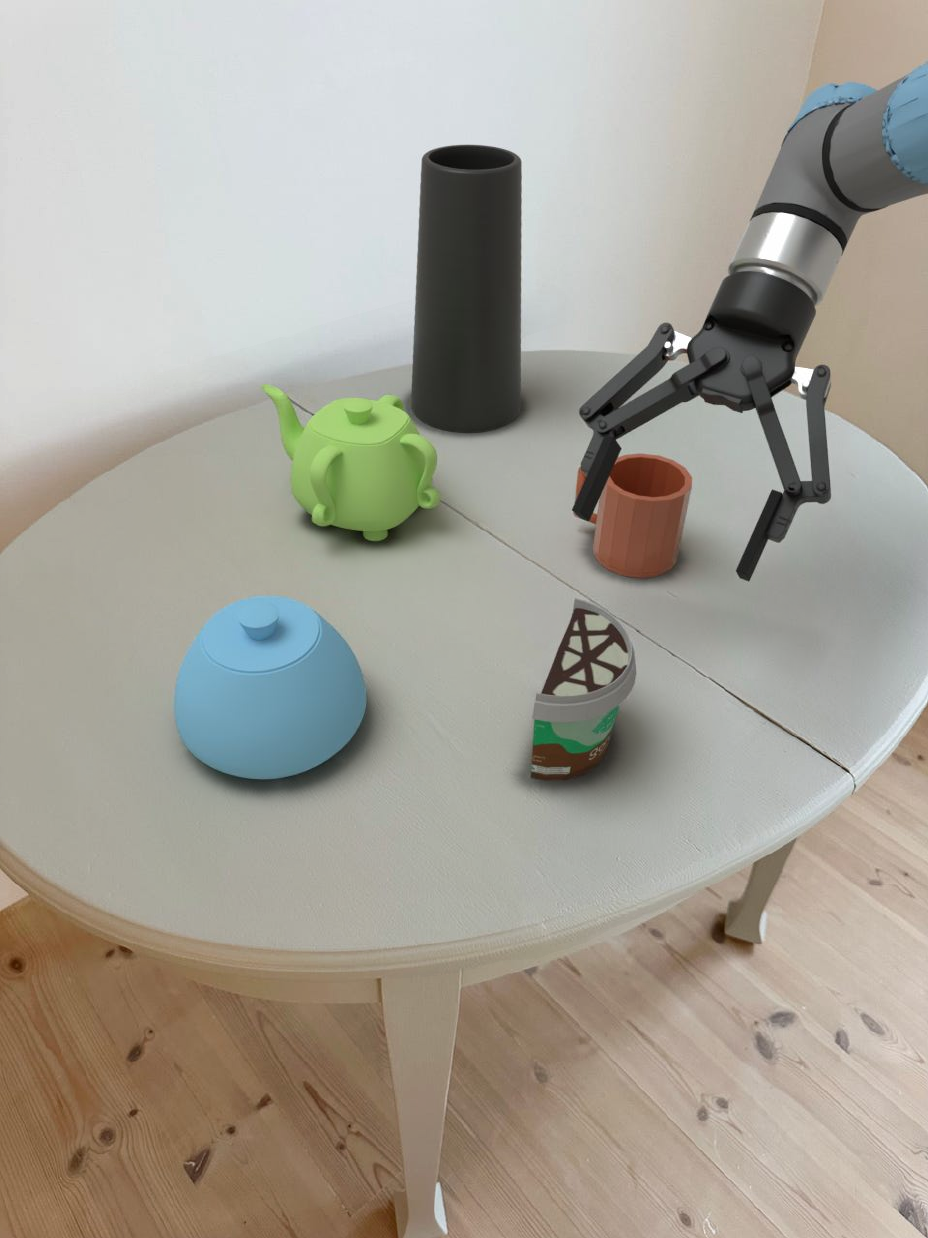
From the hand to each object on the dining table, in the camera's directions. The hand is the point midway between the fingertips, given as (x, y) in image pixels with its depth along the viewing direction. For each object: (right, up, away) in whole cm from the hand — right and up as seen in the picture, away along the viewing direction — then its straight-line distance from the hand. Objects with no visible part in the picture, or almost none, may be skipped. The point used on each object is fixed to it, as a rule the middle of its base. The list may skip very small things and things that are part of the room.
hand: (658, 545), depth 73 cm
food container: (-5, -16, +3) cm, 17 cm away
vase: (-15, +21, +46) cm, 53 cm away
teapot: (-27, +6, +28) cm, 39 cm away
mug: (+1, +2, +24) cm, 24 cm away
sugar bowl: (-30, -14, +4) cm, 34 cm away
